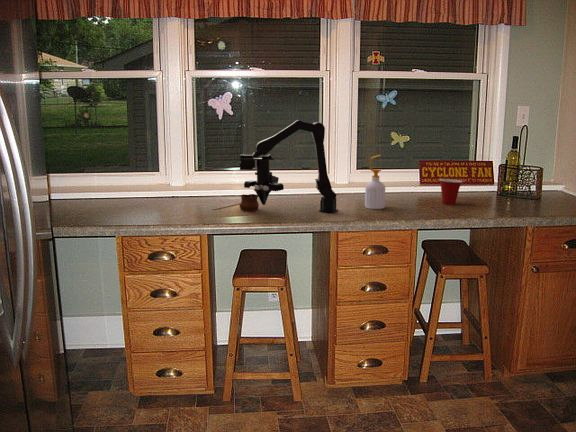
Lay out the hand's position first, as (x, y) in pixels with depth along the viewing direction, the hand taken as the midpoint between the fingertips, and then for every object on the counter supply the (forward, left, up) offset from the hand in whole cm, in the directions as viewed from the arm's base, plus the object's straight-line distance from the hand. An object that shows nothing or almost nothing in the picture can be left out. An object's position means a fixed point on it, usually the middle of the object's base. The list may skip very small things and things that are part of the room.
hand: (263, 204), depth 244 cm
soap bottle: (-34, -40, -3) cm, 53 cm away
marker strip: (+21, 0, -3) cm, 21 cm away
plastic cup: (-58, -71, -3) cm, 92 cm away
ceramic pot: (+9, 0, -4) cm, 9 cm away
